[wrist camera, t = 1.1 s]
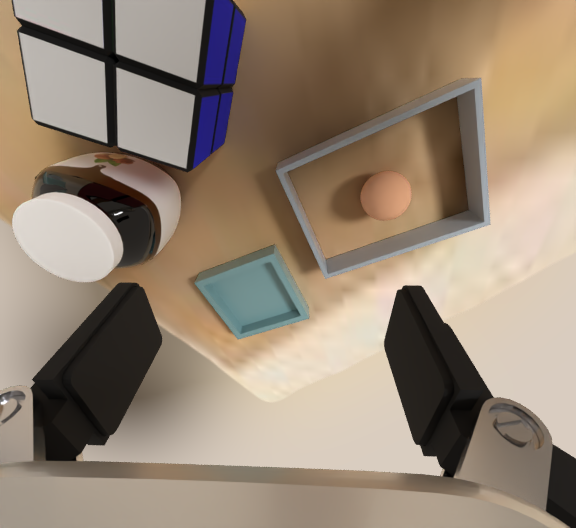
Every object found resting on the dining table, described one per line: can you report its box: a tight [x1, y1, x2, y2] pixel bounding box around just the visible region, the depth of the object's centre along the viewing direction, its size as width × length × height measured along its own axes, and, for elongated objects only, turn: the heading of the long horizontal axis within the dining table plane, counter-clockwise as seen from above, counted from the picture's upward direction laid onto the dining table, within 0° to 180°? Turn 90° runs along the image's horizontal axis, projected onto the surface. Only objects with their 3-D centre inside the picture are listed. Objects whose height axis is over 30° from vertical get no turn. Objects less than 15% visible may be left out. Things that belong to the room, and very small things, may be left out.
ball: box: [361, 171, 412, 220], centre depth 27 cm, size 5×5×5 cm
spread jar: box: [12, 152, 181, 282], centre depth 26 cm, size 12×11×12 cm
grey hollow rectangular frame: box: [276, 78, 490, 279], centre depth 27 cm, size 17×13×3 cm
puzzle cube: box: [12, 0, 246, 172], centre depth 19 cm, size 10×10×10 cm
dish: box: [195, 245, 309, 339], centre depth 36 cm, size 11×11×2 cm
